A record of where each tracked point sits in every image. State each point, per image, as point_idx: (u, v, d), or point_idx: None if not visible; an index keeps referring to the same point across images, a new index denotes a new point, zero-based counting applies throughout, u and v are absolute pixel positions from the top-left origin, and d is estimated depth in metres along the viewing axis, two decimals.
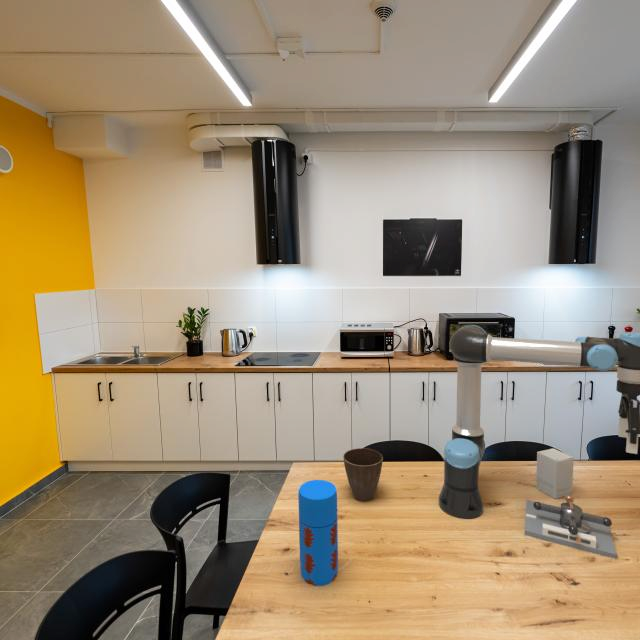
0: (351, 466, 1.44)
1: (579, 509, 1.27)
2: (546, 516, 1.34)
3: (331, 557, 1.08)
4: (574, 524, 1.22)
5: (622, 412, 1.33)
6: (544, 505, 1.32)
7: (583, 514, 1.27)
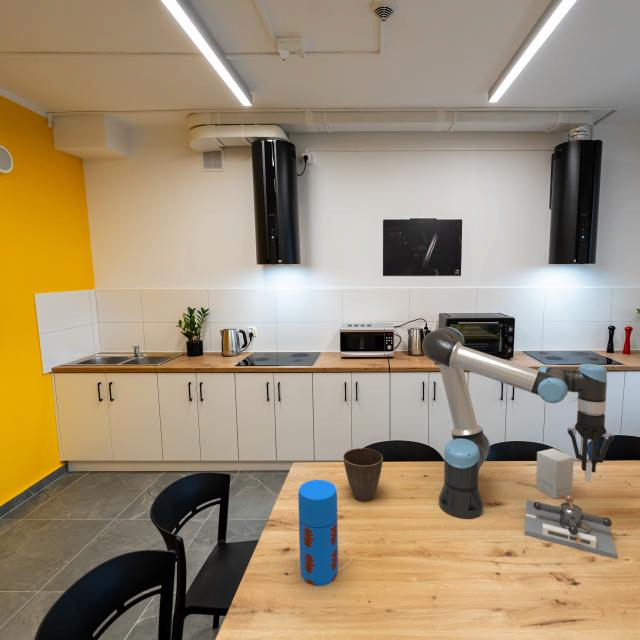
0: (351, 466, 1.44)
1: (579, 509, 1.27)
2: (546, 516, 1.34)
3: (331, 557, 1.08)
4: (574, 524, 1.22)
5: None
6: (544, 505, 1.32)
7: (583, 514, 1.27)
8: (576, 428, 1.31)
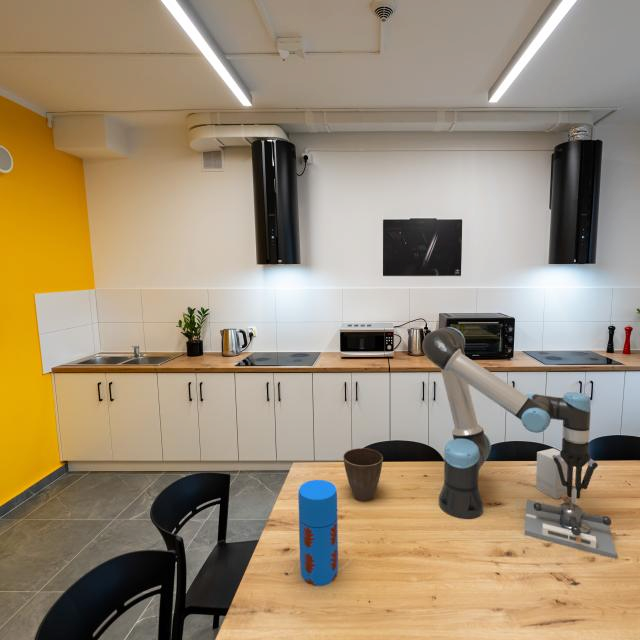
0: (351, 466, 1.44)
1: (579, 509, 1.27)
2: (546, 516, 1.34)
3: (331, 557, 1.08)
4: (576, 524, 1.21)
5: None
6: (544, 506, 1.31)
7: (583, 514, 1.27)
8: (561, 456, 1.33)
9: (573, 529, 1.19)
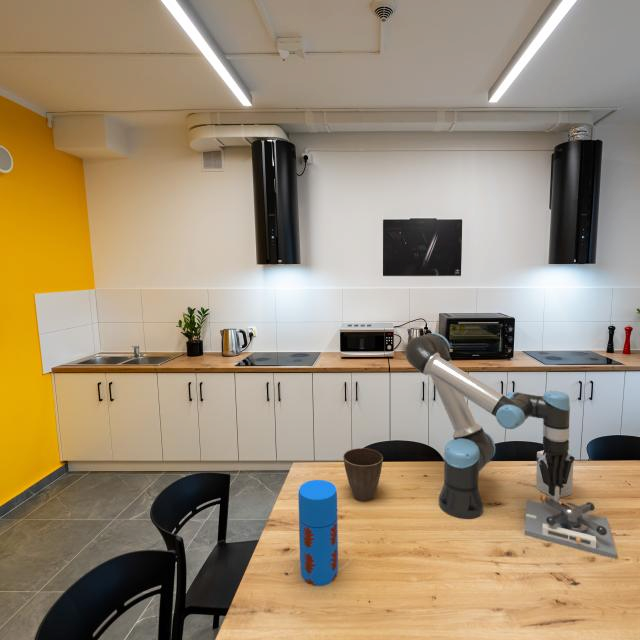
0: (351, 466, 1.44)
1: (575, 505, 1.29)
2: (546, 516, 1.34)
3: (331, 557, 1.08)
4: (595, 524, 1.22)
5: None
6: (555, 517, 1.25)
7: None
8: (547, 457, 1.32)
9: (602, 530, 1.19)
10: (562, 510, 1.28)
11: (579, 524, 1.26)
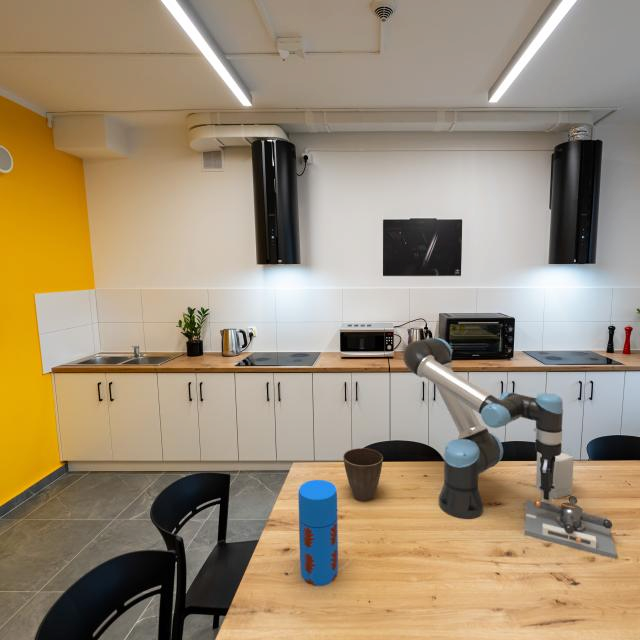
0: (351, 466, 1.44)
1: (571, 504, 1.30)
2: (546, 516, 1.34)
3: (331, 557, 1.08)
4: (599, 518, 1.24)
5: None
6: (570, 523, 1.22)
7: None
8: (548, 463, 1.28)
9: (610, 523, 1.22)
10: (566, 513, 1.27)
11: (581, 522, 1.27)
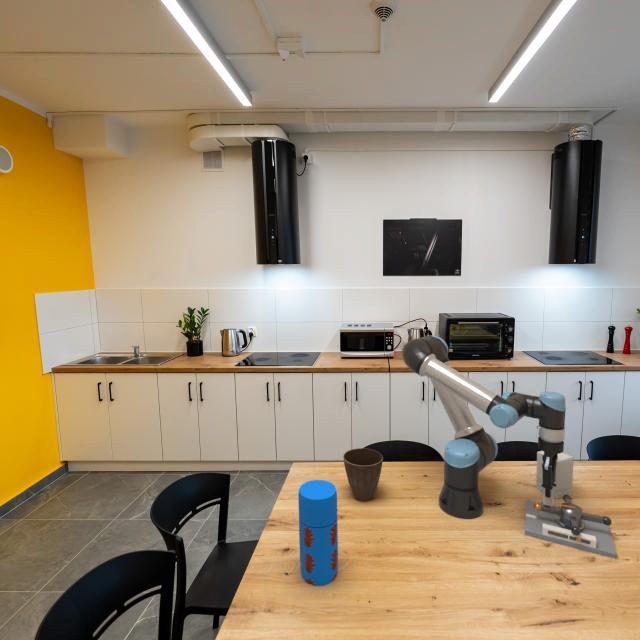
0: (351, 466, 1.44)
1: (570, 504, 1.30)
2: (546, 516, 1.34)
3: (331, 557, 1.08)
4: (598, 516, 1.25)
5: None
6: (575, 524, 1.21)
7: None
8: (551, 460, 1.30)
9: (610, 520, 1.23)
10: (568, 513, 1.26)
11: (581, 521, 1.27)
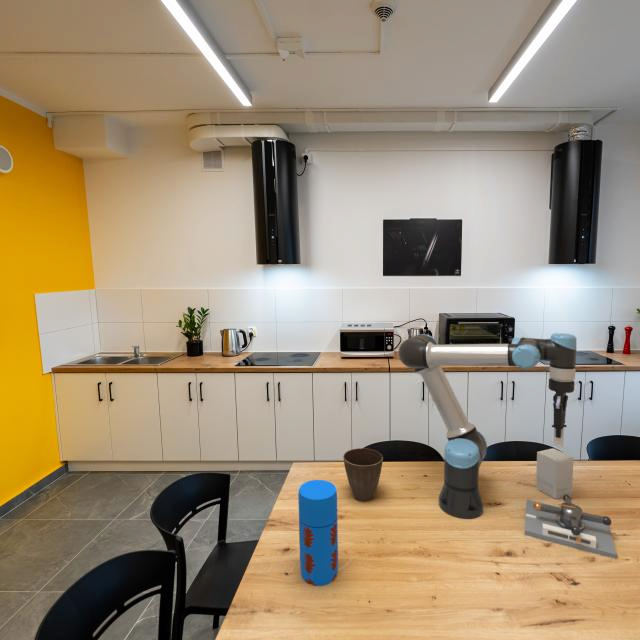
0: (351, 466, 1.44)
1: (570, 504, 1.30)
2: (546, 516, 1.34)
3: (331, 557, 1.08)
4: (598, 516, 1.25)
5: None
6: (575, 524, 1.21)
7: None
8: (562, 399, 1.32)
9: (610, 520, 1.23)
10: (568, 513, 1.26)
11: (581, 521, 1.27)
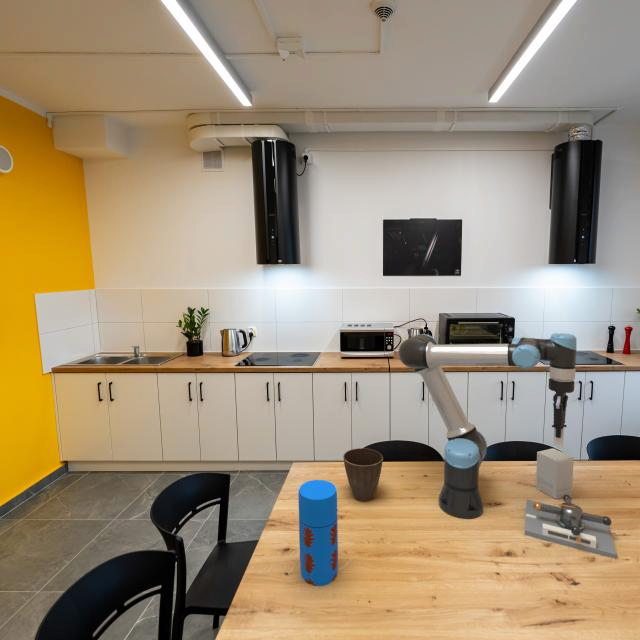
0: (351, 466, 1.44)
1: (570, 504, 1.30)
2: (546, 516, 1.34)
3: (331, 557, 1.08)
4: (598, 516, 1.25)
5: None
6: (575, 524, 1.21)
7: None
8: (562, 399, 1.32)
9: (610, 520, 1.23)
10: (568, 513, 1.26)
11: (581, 521, 1.27)
